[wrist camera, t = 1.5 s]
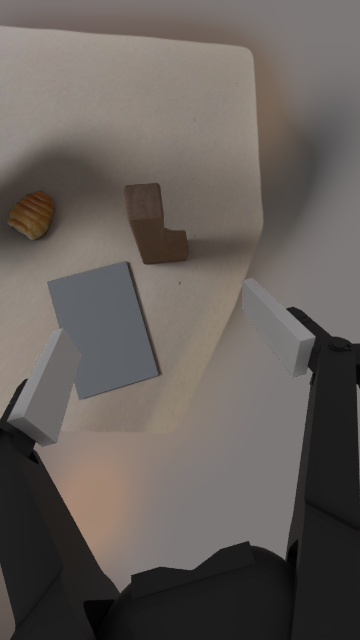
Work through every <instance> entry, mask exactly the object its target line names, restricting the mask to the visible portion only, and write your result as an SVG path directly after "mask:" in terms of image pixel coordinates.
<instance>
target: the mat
mask: <svg viewBox="0 0 360 640" xmlns="http://www.w3.org/2000/svg"><path fill="white" fill-rule="evenodd" d="M47 283H48V287H49V291H50V294H51V298H52V302H53V305H54V309H55V313H56V316H57V320H58V324H59V327H60V329H61V328H63V329H64V330H65V331H66V333H67V334H68V336H69V337H70V339H71V340H72V341H73V343H74V344H75V346H76V347H77V349H78V350H79V351H80V353H81V354H82V355H81V359H80V362H79V366H78V369H77V373H76V376H75V380H74V382H75V386H76V389H77V393H78V397H79V399H83V398H86V397H89V396H92V395H96V394H99V393H102V392H106V391H109V390H112V389H115V388H119V387H122V386H125V385H128V384H132V383H135V382H138V381H141V380H145V379H148V378H151V377H154V376H158V375H159V374H158V370H157V367H156V363H155V360H154V356H153V353H152V349H151V346H150V342H149V339H148V335H147V332H146V328H145V325H144V321H143V318H142V314H141V311H140V307H139V304H138V300H137V297H136V293H135V290H134V286H133V283H132V279H131V276H130V272H129V269H128V265H127V262H126V261H124V262H121V263H117V264H113V265H109V266H105V267H102V268H98V269H94V270H90V271H86V272H83V273H79V274H75V275H71V276H67V277H64V278H60V279H56V280H52V281H48V282H47Z"/></svg>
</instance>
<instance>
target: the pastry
mask: <svg viewBox="0 0 360 640" xmlns="http://www.w3.org/2000/svg"><path fill="white" fill-rule="evenodd" d="M53 213H54V202H53V200H52V199H51V198H50V197H49V196H48V195H46V194H45V193H44V192H42V191H39V192H34V193H32V194H28V195H27V196H26V197H25V198H21V199H20V202H18V203H16V204H14V209H13V210H10V211H9V219H8V220H7V222H8V224H9V226H11V227H12V228H15V229H17V231H18V232H20V233H22V234H24V235H26V236H27V237H28V238H29V239H31V240H35V239H37V238H39V237H41V236H43V235H44V234H45V232H46V231H47V230H48V227H49V226H50V222H51V219H52V216H53Z"/></svg>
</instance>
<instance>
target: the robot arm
mask: <svg viewBox="0 0 360 640" xmlns="http://www.w3.org/2000/svg"><path fill="white" fill-rule="evenodd" d="M242 294H243V312H244V313H245V315H246V316H247V318H248V319H249V320H250V321H251V323H252V324H253V325H254V327H255V328H256V330H257V331H258V332H259V333H260V335H261V336H262V337H263V339H264V340H265V341H266V343H267V344H268V345H269V347H270V348H271V349H272V351H273V352H274V353H275V355H276V356H277V357H278V359H279V360H280V361H281V363H282V364H283V365H284V367H285V368H286V369H287V371H288V372H289V373H290V375H291V376H292V377H297V376H300V375H303V374H306V372H307V368H308V367H309V368H310V369H311V371H312V372H313V374H312V377H311V381H310V385H311V387H310V394H309V401H308V409H307V416H306V423H305V431H304V438H303V445H302V453H301V460H300V468H299V475H298V483H297V489H296V497H295V505H294V511H293V517H292V522H291V526H290V532H289V538H288V545H287V552H286V559H285V560H284V559H283V558H281V557H280V556H278V555H277V554H275V553H273V552H271V551H269V550H267V549H265V548H261V547H258V546H250V543H249V541H247V542H243V543H240V544H237V545H233V546H230V547H227V548H223V549H220V550H219V551H217V552H216V553H215V554H213V555H212V556H211V557H210V558H208V559H207V560H206V561H204V562H203V563H202V564H200V565H199V566H198V567H197V568H195V569H193V570H183V569H175V568H167V567H158V568H155V569H151V570H148V571H144V572H141V573H137V574H134V575H131V583H130V584H129V585H128V586H127V587H126V588H125V589H124V590H123V591H122V592H121V593H119V591H118V590H117V588H116V586H115V585H114V583H113V582H112V581H111V580H110V579H109V578H108V577H107V576H106V575H105V574H104V573H103V571H102V570H101V569H100V567H99V565H98V563H97V561H96V560H95V558H94V556H93V554H92V552H91V551H90V549H89V547H88V545H87V543H86V541H85V539H84V538H83V536H82V534H81V532H80V530H79V529H78V527H77V525H76V523H75V521H74V519H73V517H72V516H71V514H70V512H69V510H68V508H67V506H66V505H65V503H64V501H63V499H62V497H61V495H60V494H59V492H58V490H57V488H56V486H55V484H54V483H53V481H52V479H51V477H50V476H49V473H48V472H47V470H46V468H45V466H44V464H43V462H42V461H41V459H40V457H39V455H38V453H37V452H36V451H35V450H34V449H33V448H34V445H35V442H37V443H38V444H39V445H41V446H42V447H43V446H47V445H50V444H54V443H57V439H58V436H59V433H60V429H61V425H62V422H63V418H64V415H65V411H66V408H67V404H68V401H69V397H70V394H71V390H72V387H73V383H74V380H75V376H76V373H77V369H78V366H79V362H80V359H81V355H82V354H81V353H80V351H79V350H78V349H77V347H76V346H75V344H74V343H73V341H72V340H71V339H70V337H69V336H68V334H67V333H66V331H65V330H64V329H63V328H61V329H57V330H53V331H52V333H51V335H50V337H49V339H48V341H47V343H46V345H45V346H44V348H43V350H42V352H41V354H40V356H39V358H38V360H37V362H36V364H35V366H34V368H33V370H32V372H31V374H30V376H29V378H28V379H25V380H24V381H23V382H22V383H21V384H20V385H19V386H18V388H17V389H16V391H15V393H14V395H13V397H12V399H11V401H10V402H9V403H10V404H8V406H7V408H6V410H5V412H4V414H3V416H2V417H1V419H0V564H1V568H2V572H3V576H4V579H5V584H6V588H7V591H8V595H9V599H10V603H11V606H12V610H13V614H14V618H15V624H16V627H15V632H14V634H13V636H12V638H11V639H10V640H360V481H359V451H358V422H357V420H358V419H357V389H356V384H358V386H359V388H360V344H352V343H351V342H349V341H348V340H346V339H343V338H340V337H332V336H331V335H330V334H328V333H327V332H326V331H325V330H324V329H323V328H321V327H320V326H319V325H318V324H317V323H316V322H314V321H313V320H312V319H311V318H310V317H308V316H307V315H306V314H305V313H304V312H303V311H302V310H299V309H297V308H295V307H291V308H287V309H285V308H284V307H283V306H282V305H281V304H280V303H279V302H278V301H277V300H276V299H275V298H274V297H272V296H271V295H270V294H269V293H268V292H267V291H266V290H265V289H264V288H263V287H262V286H261V285H260V284H259V283H257V282H256V281H255V280H254V279H253V278H250V279H246V280H242Z"/></svg>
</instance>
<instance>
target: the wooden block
mask: <svg viewBox="0 0 360 640" xmlns="http://www.w3.org/2000/svg"><path fill="white" fill-rule="evenodd" d="M124 191H125V200H126V209H127V218H128V221H129V224H130V227H131V229H132V232H133V235H134V238H135V241H136V244H137V246H138V249H139V252H140V255H141V258H142V260H143V263H144V264H151V263H161V262H172V261H181V260H186V258H187V254H188V246H187V237H186V232H185V231H184V230H179V231H171V230H169V229H166V228H164V215H163V206H162V198H161V190H160V186H159V184H158V183H151V184H138V185H126V186H125V189H124Z"/></svg>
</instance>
